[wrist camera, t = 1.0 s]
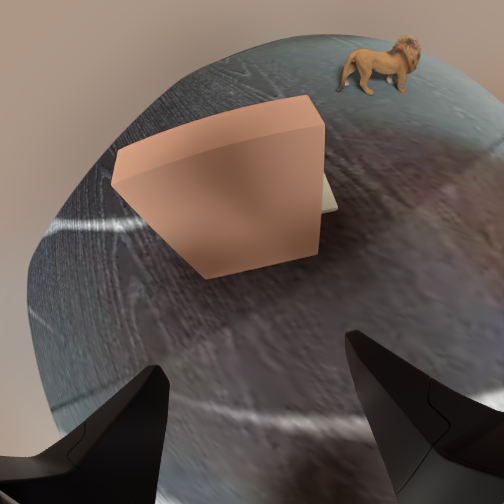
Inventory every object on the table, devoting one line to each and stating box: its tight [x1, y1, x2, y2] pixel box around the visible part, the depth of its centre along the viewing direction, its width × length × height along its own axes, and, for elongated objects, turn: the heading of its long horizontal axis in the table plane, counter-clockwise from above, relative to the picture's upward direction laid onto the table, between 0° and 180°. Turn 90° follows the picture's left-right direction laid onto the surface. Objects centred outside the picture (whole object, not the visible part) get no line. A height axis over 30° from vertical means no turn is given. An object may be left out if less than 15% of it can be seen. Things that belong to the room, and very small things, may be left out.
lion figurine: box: [337, 35, 421, 95], centre depth 27 cm, size 15×5×9 cm, turn 109°
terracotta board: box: [111, 95, 325, 279], centre depth 18 cm, size 2×10×14 cm, turn 99°
